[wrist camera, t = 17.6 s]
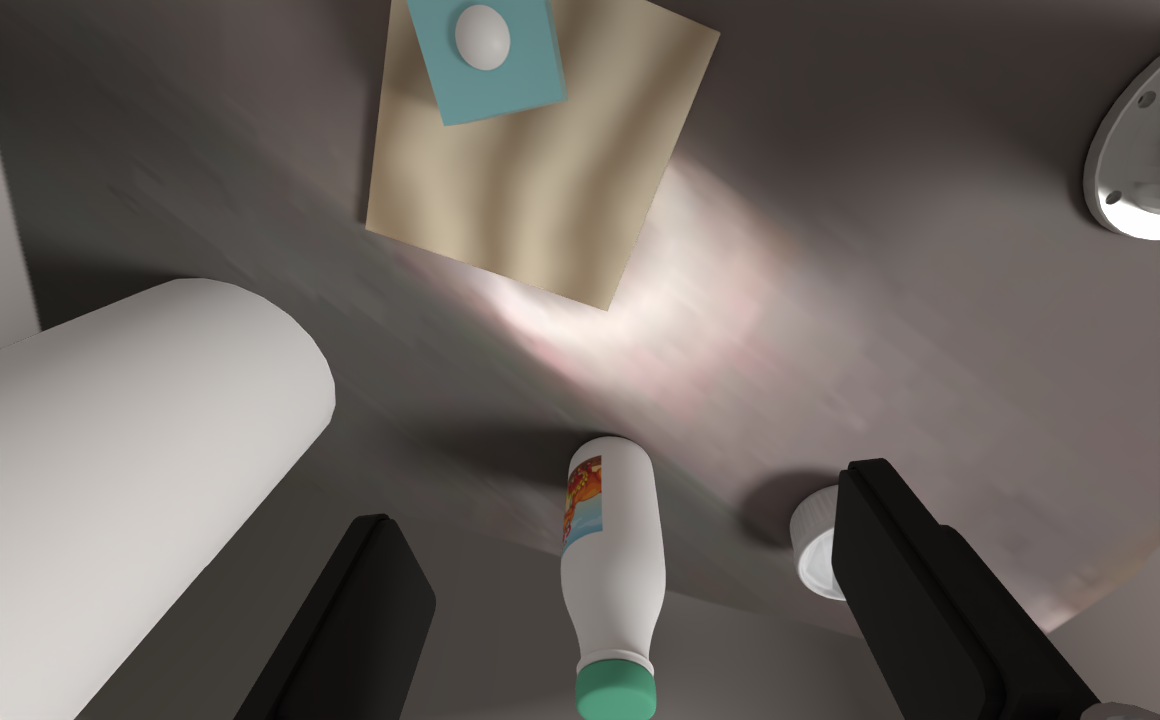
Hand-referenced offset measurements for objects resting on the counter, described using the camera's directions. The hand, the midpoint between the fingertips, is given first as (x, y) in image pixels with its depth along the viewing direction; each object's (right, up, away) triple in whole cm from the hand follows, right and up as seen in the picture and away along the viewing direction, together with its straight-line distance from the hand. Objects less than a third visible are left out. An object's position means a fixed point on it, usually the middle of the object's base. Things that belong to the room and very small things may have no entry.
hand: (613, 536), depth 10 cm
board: (-4, +18, +20) cm, 28 cm away
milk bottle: (+2, -6, +34) cm, 34 cm away
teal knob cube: (-5, +20, +15) cm, 26 cm away
